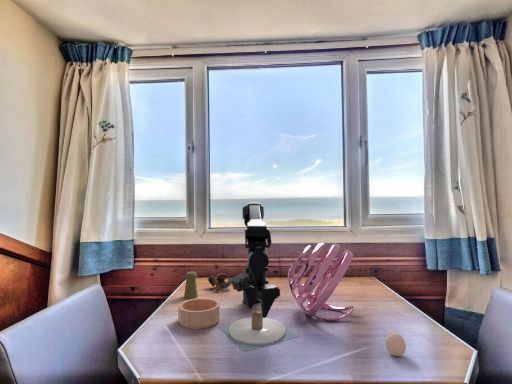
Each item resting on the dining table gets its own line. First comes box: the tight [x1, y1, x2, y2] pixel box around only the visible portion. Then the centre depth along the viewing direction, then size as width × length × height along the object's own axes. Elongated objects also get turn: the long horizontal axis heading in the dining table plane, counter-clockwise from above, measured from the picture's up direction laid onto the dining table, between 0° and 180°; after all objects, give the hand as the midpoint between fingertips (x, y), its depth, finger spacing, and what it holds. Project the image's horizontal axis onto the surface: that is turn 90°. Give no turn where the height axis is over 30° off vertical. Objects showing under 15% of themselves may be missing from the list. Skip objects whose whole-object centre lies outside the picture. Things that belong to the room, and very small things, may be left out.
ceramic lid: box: [229, 309, 286, 345], centre depth 99 cm, size 18×18×6 cm
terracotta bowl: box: [177, 297, 221, 330], centre depth 109 cm, size 14×14×6 cm
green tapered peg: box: [183, 271, 199, 300], centre depth 137 cm, size 6×6×11 cm
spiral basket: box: [287, 241, 355, 322], centre depth 115 cm, size 28×28×27 cm
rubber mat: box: [217, 316, 300, 353], centre depth 99 cm, size 19×19×1 cm
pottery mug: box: [207, 273, 232, 292], centre depth 149 cm, size 12×10×8 cm
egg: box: [385, 332, 407, 357], centre depth 85 cm, size 5×5×6 cm
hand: (257, 312), depth 99 cm, fingers open, 9 cm apart
